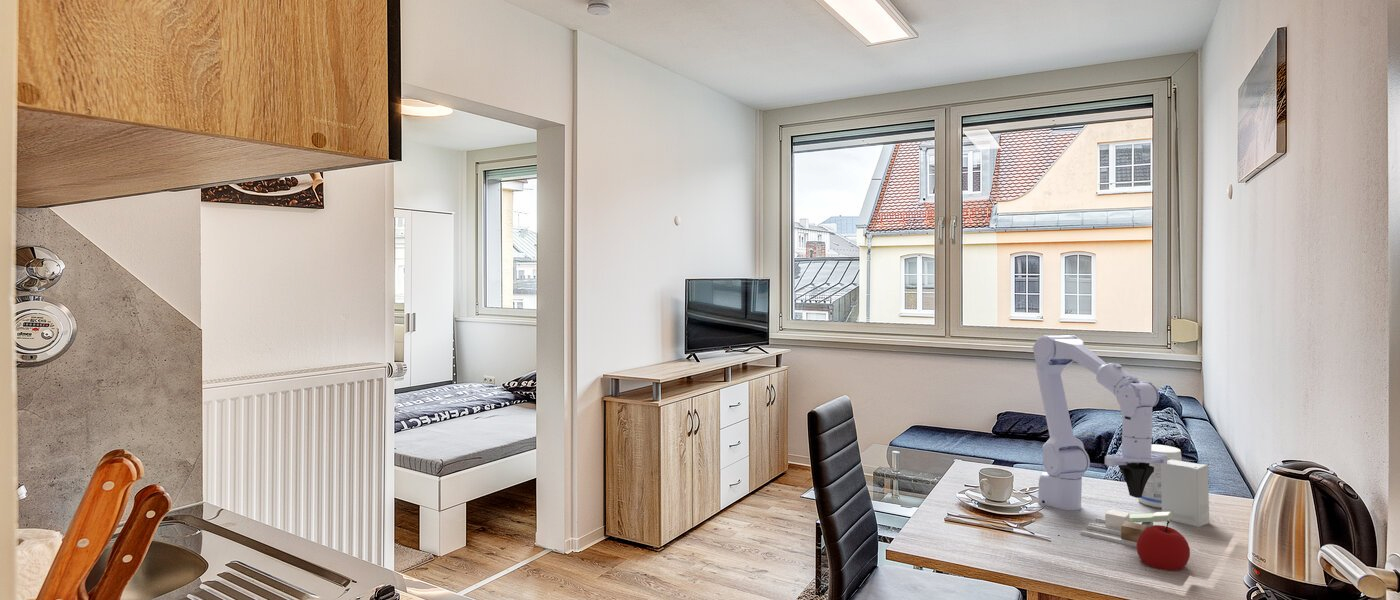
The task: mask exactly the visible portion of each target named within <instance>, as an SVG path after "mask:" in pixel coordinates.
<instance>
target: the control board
mask: <svg viewBox="0 0 1400 600" xmlns="http://www.w3.org/2000/svg"><path fill="white" fill-rule="evenodd" d="M1095 522H1098V523H1104V524H1105V518H1102V517H1095ZM1141 524H1142V525H1147V528H1148V527H1150V526H1153V525H1154V522H1141ZM1086 526H1087V527H1086V529H1088V530H1093V531H1098V532H1102V533H1106V534H1111V535H1115V536H1119V537H1121V529H1118V528H1113V527H1108V526H1105V525H1103V524H1097V523H1093V522H1089V524H1087V525H1086ZM1079 533H1080V534H1079V535H1081V536H1086V537H1091V538H1094V539H1099V540H1103V541H1108V542H1112V543H1117V544H1123V545H1127V546H1132V547H1136V545H1137V542H1133V541H1128V540H1124V539H1121V538H1119V537H1115V536H1109V535H1105V534H1101V533H1095V532H1092V531H1091V532H1090V531H1087V530H1083V529H1081V530H1080V531H1079Z"/></svg>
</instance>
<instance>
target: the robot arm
mask: <svg viewBox="0 0 1400 600" xmlns="http://www.w3.org/2000/svg"><path fill="white" fill-rule="evenodd" d="M1032 350H1033V351H1032V352H1033V355H1034V360H1035V364H1036V367H1035V369H1036V376H1037V381H1038V385H1039V390H1040V391H1039V392H1040V395H1041V399H1042V405H1043V409H1044V415H1045V420H1046V425H1047V430H1048V435H1049V438H1048V439H1047V441H1046V442H1044V443H1043V445H1042V466H1043V468H1044V470H1045V471H1042V472H1041V474H1040V475H1039V479H1038V496H1037V498H1038V499H1037V500H1038V501H1037V503H1038V504H1039V505H1043V506H1048V507H1052V508H1056V509H1060V510H1065V511H1066V510H1067V511H1078V510H1082V483H1083V481H1082V478H1084V477H1085V473H1086V472H1087V471H1089V468H1090V467H1091V466H1090V465H1091V461H1090V456H1089V454H1088V453H1087V451H1086V450H1085V446H1084V442H1083V441H1081V440H1080V439H1079V438H1078V437H1076V436H1075V434H1074V431H1073V426H1072V421H1071V418H1070V417H1071V416H1070V412H1069V407H1068V402H1067V398H1066V393H1065V388H1064V384H1063V383H1064V382H1063V379H1062V373H1063V371H1064V370H1065V369H1066V368H1068V366H1070V365H1071V364H1072V363H1073V362H1076V363H1077V364H1079V365H1080V366H1082V367H1084V368H1085V369H1087V370H1088V371H1090V372H1091V373H1093V374H1094V375H1095V377H1096V382H1097V383H1098V384H1100V386H1102V387H1103V388H1105V389H1106V390H1107V391H1109V393H1112V395H1114V396H1115V397H1116V401H1117V403H1118V405H1119V407H1120V411H1119V412H1120V413H1121V416H1122V429H1121V452H1119V453H1116V454H1113V455H1105V456H1104V465H1105V466H1108V467H1115V466H1118V468H1119V470H1120V471H1121V473H1122V476H1123V477H1124V480H1125V482H1126V485H1127V489H1128V494H1129V496H1131V497H1133V498H1135V499H1138V498H1141V497H1142V494H1143V490H1144V488H1145V485H1146V483H1147V481H1148V479H1149V477H1150V476H1151V474H1152V473H1153V472H1154V467H1153V466H1149V464H1157V463H1162V464H1167V458H1168V456H1167V455H1164V454H1152V453H1151V447H1152V440H1153V439H1152V437H1153V433H1152V432H1153V407H1156V406H1157V404H1158V403H1159V400H1160V392H1159V390H1158V389H1157V387H1156V386H1155V385H1154V384H1153V383H1152V382H1150V381H1141V380H1139V378H1138V377H1137V376H1135V375H1132V374H1130V373H1129V372H1127V371H1126V370H1124V369H1123V365H1121V364H1120V363H1113V362H1110V363H1106V362H1105V361H1104V360H1103V359H1101V358H1100V357H1099V355H1098V356H1097V354H1096V353H1095V352H1093V351H1092V350H1091V349H1089V348H1088V347H1087V346H1086V345H1085V343H1084V340H1082V339H1081V338H1080V337H1078V336H1076V335H1074V334H1067V335H1047V334H1046V335H1045V334H1044V335H1041V336H1039V337H1038V338H1037V339H1036V341H1035V342H1034V344H1033V346H1032Z"/></svg>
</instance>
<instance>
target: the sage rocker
mask: <svg viewBox="0 0 1400 600" xmlns="http://www.w3.org/2000/svg"><path fill="white" fill-rule="evenodd" d="M1171 518H1172V514H1171V512H1162V511H1155V512H1153V513H1130V518H1129V522H1132V523H1142V522H1153V523H1157V522H1158V523H1159V522H1160V523H1161V522H1164V523H1165V522H1166V523H1167V520H1168V521H1169V522H1171V520H1170V519H1171Z"/></svg>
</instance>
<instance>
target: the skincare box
mask: <svg viewBox="0 0 1400 600" xmlns="http://www.w3.org/2000/svg"><path fill="white" fill-rule="evenodd" d="M1208 468H1209V466H1208V464H1203V463H1196V462H1190V461H1184V460H1181V461H1178V460H1172V459H1171V460H1168V461H1167V464H1162V463H1161V497H1162V508H1161V512H1171V514H1172V518H1171V519H1170V521H1172V522H1178V523H1182V524H1185V525H1189V526H1194V527H1197V528H1199V527H1202V526H1205V525H1207V524H1210V501H1209V499H1210V495H1209V490H1210V489H1209V469H1208Z"/></svg>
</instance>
